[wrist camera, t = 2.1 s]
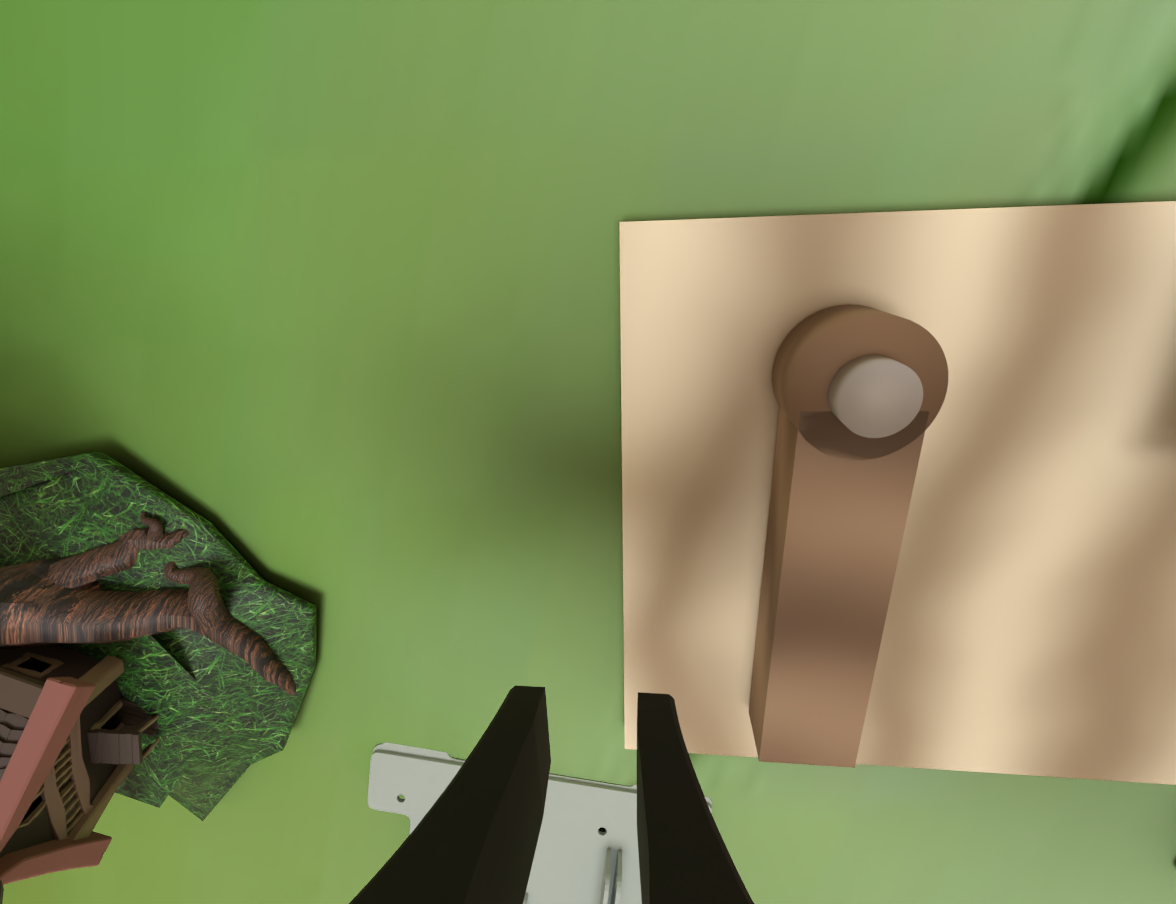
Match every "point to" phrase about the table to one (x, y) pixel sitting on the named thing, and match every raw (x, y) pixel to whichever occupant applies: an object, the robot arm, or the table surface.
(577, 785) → the metal bracket
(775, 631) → the latch bar
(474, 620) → the table surface
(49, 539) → the bonsai tree
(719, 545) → the base board
